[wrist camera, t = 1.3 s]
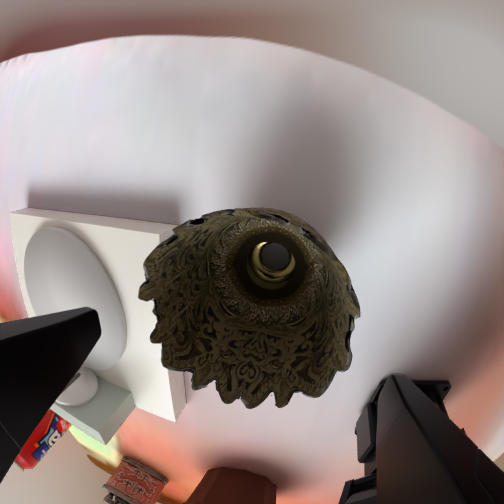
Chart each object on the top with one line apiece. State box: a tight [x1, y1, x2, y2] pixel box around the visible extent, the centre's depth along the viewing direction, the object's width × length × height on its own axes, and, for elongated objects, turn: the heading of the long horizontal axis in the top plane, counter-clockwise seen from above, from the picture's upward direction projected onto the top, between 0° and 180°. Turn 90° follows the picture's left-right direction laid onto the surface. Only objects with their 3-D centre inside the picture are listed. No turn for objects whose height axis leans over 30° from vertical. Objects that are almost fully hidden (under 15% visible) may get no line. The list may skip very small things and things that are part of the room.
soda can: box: [14, 409, 72, 471], centre depth 22 cm, size 8×8×15 cm
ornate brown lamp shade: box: [138, 208, 360, 409], centre depth 12 cm, size 8×7×8 cm
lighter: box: [102, 456, 169, 504], centre depth 25 cm, size 8×3×10 cm, turn 69°
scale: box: [9, 208, 186, 445], centre depth 17 cm, size 18×16×8 cm
